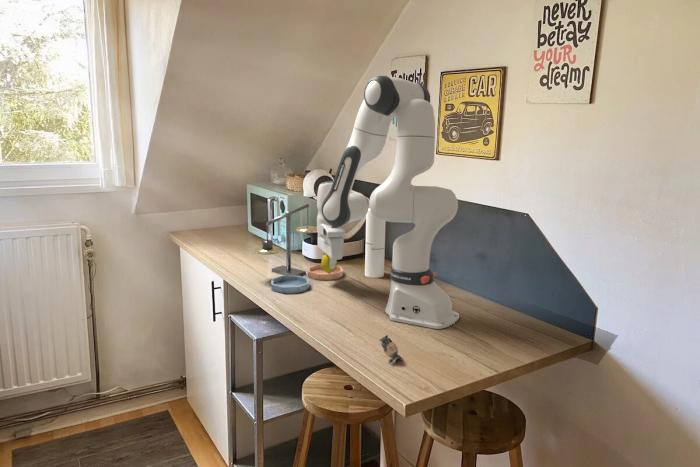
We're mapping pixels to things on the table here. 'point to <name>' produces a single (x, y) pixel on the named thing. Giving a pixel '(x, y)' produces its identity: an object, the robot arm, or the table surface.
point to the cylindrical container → (374, 246)
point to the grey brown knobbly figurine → (390, 349)
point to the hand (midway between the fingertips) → (329, 265)
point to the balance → (270, 249)
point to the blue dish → (290, 284)
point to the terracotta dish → (324, 273)
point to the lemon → (327, 264)
